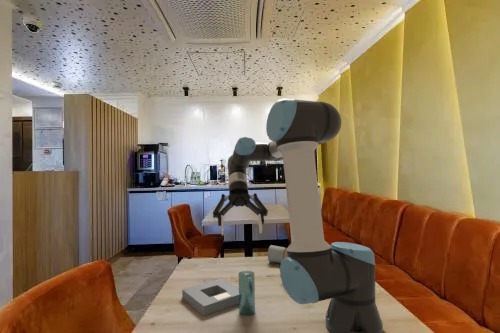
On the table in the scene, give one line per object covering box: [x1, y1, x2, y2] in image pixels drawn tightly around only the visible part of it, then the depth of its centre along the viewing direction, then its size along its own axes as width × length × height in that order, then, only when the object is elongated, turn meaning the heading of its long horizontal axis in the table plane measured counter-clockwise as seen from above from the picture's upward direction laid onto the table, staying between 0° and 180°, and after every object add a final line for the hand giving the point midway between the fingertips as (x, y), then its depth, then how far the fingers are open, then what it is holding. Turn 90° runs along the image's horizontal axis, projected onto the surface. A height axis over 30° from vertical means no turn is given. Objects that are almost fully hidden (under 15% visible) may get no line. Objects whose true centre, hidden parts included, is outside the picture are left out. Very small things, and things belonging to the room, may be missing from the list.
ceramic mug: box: [267, 244, 287, 264], centre depth 142 cm, size 11×8×8 cm
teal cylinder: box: [238, 270, 256, 316], centre depth 93 cm, size 5×5×12 cm
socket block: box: [181, 278, 239, 317], centre depth 102 cm, size 16×16×3 cm
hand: (242, 232), depth 104 cm, fingers open, 13 cm apart
